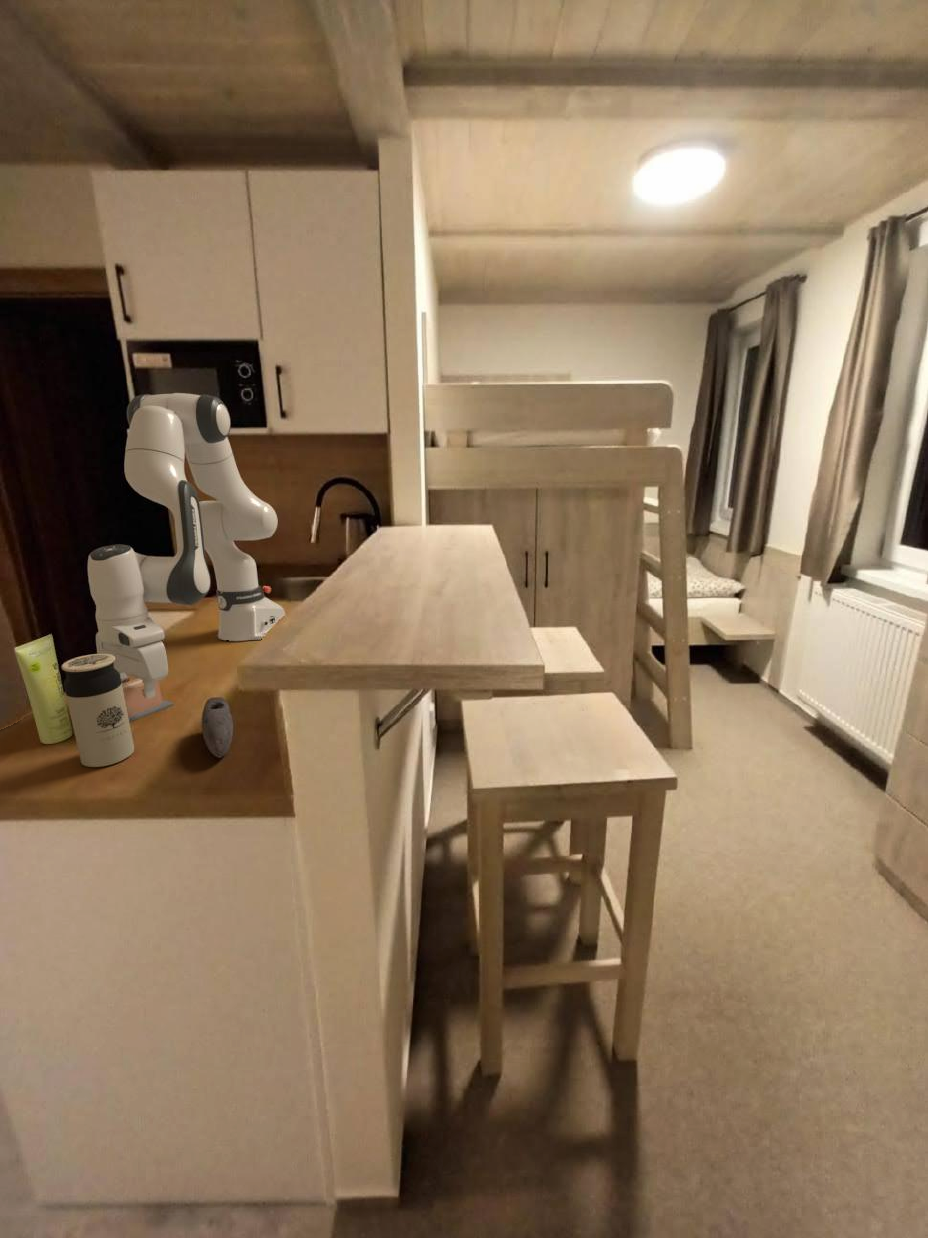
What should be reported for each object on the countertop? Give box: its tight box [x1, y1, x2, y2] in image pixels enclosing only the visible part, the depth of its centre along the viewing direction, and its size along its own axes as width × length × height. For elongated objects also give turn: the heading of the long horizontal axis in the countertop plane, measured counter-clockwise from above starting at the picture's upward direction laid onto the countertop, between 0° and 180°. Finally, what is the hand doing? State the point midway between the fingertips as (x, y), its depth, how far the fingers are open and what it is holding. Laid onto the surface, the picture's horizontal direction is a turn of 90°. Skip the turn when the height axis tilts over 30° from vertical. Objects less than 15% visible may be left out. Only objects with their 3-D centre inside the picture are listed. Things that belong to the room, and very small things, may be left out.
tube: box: [13, 633, 74, 745], centre depth 99 cm, size 6×5×20 cm
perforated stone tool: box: [201, 696, 234, 759], centre depth 99 cm, size 15×5×7 cm, turn 23°
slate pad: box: [128, 698, 174, 723], centre depth 113 cm, size 10×8×1 cm
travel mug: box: [61, 653, 135, 768], centre depth 93 cm, size 8×8×18 cm
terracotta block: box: [122, 678, 163, 717], centre depth 113 cm, size 4×7×6 cm, turn 148°
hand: (136, 691), depth 112 cm, fingers open, 8 cm apart
